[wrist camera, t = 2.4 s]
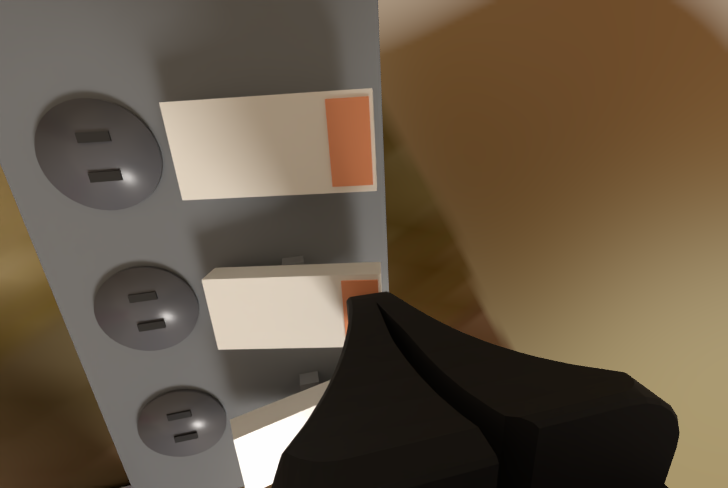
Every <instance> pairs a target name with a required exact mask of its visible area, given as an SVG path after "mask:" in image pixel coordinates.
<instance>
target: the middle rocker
mask: <svg viewBox="0 0 728 488" xmlns="http://www.w3.org/2000/svg"><path fill="white" fill-rule="evenodd" d="M202 284H203V288H204V293H205V297H206V301H207V305H208V309H209V313H210V318H211V322H212V326H213V330H214V334H215V338H216V343H217V347H218V350H226V349H277V348H328V347H343V345H344V341H345V337H346V333H347V327H348V315H347V303H346V301H347V299H348V298H349V297H353V296H359V295H366V294H372V293H379V292H382V283H381V262H362V263H334V264H306V265H277V266H249V267H221V268H214V269H213V270H212V271H211V272H210V273H208V274H207V275H206V276H205V277H204V278H203V279H202Z"/></svg>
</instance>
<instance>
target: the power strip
mask: <svg viewBox="0 0 728 488" xmlns="http://www.w3.org/2000/svg"><path fill="white" fill-rule="evenodd" d="M378 18H379V17H378V0H0V164H1V167H2V169H3V171H4V174H5V176H6V179H7V181H8V184H9V186H10V189H11V191H12V194H13V196H14V199H15V201H16V203H17V206H18V208H19V211H20V213H21V216H22V218H23V221H24V223H25V226H26V228H27V231H28V233H29V235H30V238H31V240H32V243H33V245H34V248H35V250H36V253H37V255H38V258H39V260H40V263H41V265H42V267H43V270H44V272H45V275H46V277H47V280H48V282H49V285H50V287H51V290H52V292H53V295H54V297H55V299H56V302H57V304H58V307H59V309H60V312H61V314H62V317H63V319H64V322H65V324H66V327H67V329H68V331H69V334H70V336H71V339H72V341H73V344H74V346H75V349H76V351H77V354H78V356H79V359H80V361H81V364H82V366H83V368H84V371H85V373H86V376H87V378H88V381H89V383H90V386H91V388H92V391H93V393H94V396H95V398H96V400H97V403H98V405H99V408H100V410H101V413H102V415H103V418H104V420H105V423H106V425H107V428H108V430H109V432H110V435H111V437H112V440H113V442H114V445H115V447H116V450H117V452H118V455H119V457H120V460H121V462H122V464H123V467H124V469H125V472H126V474H127V477H128V479H129V482H130V484H131V487H132V488H239V487H243V486H245V485H244V481H243V477H242V473H241V469H240V465H239V461H238V457H237V453H236V449H235V444H234V440H233V435H232V429H231V424H230V419H233V418H235V417H238V416H241V415H243V414H246V413H248V412H251V411H253V410H256V409H258V408H261V407H263V406H266V405H268V404H271V403H273V402H276V401H278V400H281V399H283V398H286V397H288V396H291V395H294V394H296V393H299V392H301V391H304V390H306V389H309V388H311V387H314V386H316V385H319V384H321V383H324V382H326V381H329V380H331V378H332V376H333V373H334V371H335V369H336V366H337V364H338V361H339V358H340V355H341V352H342V349H343V347H328V348H277V349H226V350H218V347H217V343H216V338H215V334H214V330H213V326H212V322H211V318H210V313H209V309H208V305H207V301H206V297H205V293H204V288H203V284H202V279H203V278H204V277H205V276H206V275H207V274H208V273H210V272H211V271H212V270H213V269H214V268H221V267H249V266H277V265H306V264H334V263H362V262H381V283H382V292H385V291H387V292H389V285H388V258H387V232H386V205H385V178H384V151H383V125H382V98H381V71H380V45H379V19H378ZM365 88H372V90H373V104H374V127H375V149H376V171H377V191H367V192H346V193H325V194H305V195H284V196H264V197H243V198H222V199H202V200H182V196H181V192H180V188H179V184H178V180H177V176H176V171H175V167H174V163H173V159H172V155H171V151H170V146H169V142H168V138H167V134H166V130H165V126H164V121H163V117H162V113H161V109H160V105H159V102H174V101H188V100H203V99H218V98H233V97H247V96H262V95H277V94H292V93H306V92H321V91H336V90H351V89H365Z"/></svg>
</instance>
